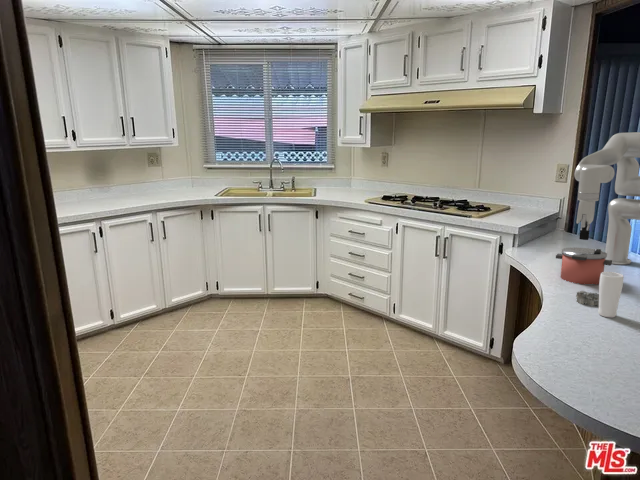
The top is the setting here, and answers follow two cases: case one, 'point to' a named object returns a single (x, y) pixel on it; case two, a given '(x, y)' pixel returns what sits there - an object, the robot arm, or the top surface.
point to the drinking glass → (609, 293)
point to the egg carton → (587, 298)
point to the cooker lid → (584, 253)
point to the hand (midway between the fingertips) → (583, 239)
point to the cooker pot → (582, 269)
